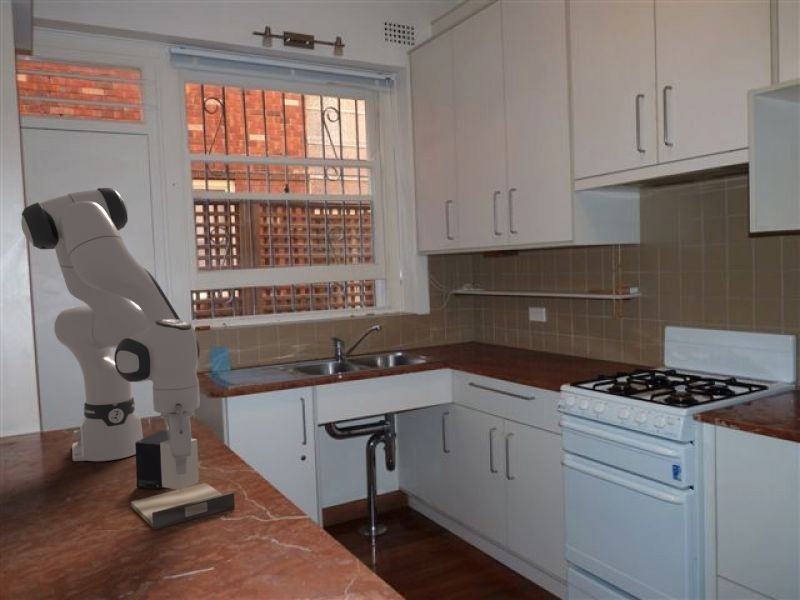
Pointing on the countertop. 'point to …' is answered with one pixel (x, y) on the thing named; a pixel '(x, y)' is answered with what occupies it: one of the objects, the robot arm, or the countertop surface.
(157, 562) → the countertop surface
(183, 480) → the carton
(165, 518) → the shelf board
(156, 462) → the small box
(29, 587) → the countertop surface
